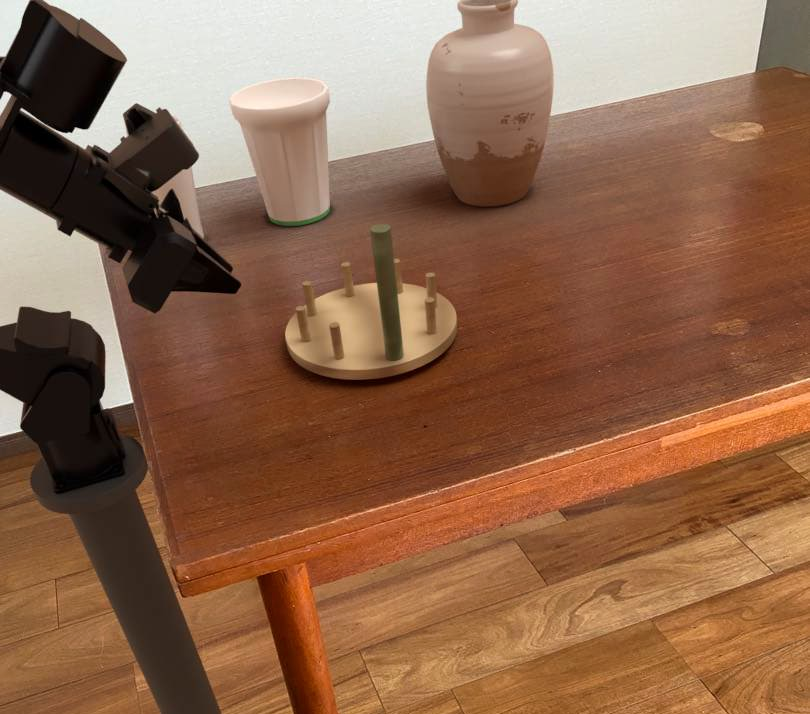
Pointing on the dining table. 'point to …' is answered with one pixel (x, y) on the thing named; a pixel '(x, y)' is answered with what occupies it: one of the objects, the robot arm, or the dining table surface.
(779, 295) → the dining table surface
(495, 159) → the vase
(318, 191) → the cup
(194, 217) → the pink tumbler
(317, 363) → the wooden peg board
